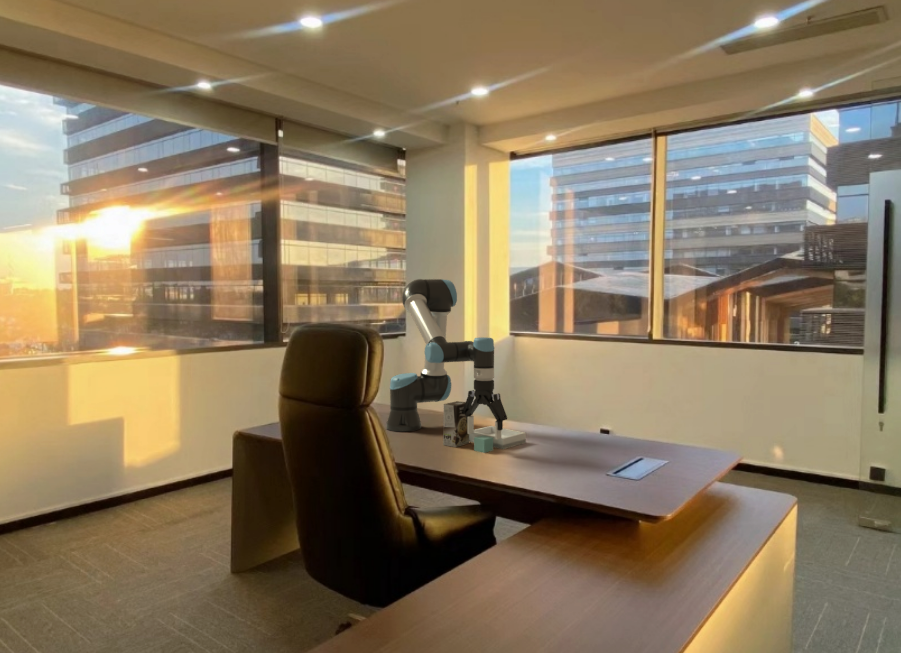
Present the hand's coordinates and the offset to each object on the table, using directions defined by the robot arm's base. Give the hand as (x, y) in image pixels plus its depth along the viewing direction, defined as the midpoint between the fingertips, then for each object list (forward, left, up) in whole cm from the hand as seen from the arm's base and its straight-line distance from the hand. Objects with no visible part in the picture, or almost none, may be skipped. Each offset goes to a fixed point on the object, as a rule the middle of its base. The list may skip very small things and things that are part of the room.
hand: (484, 436), depth 233 cm
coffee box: (-14, 0, -6) cm, 15 cm away
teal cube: (0, 0, -6) cm, 6 cm away
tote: (-5, +14, -5) cm, 16 cm away
